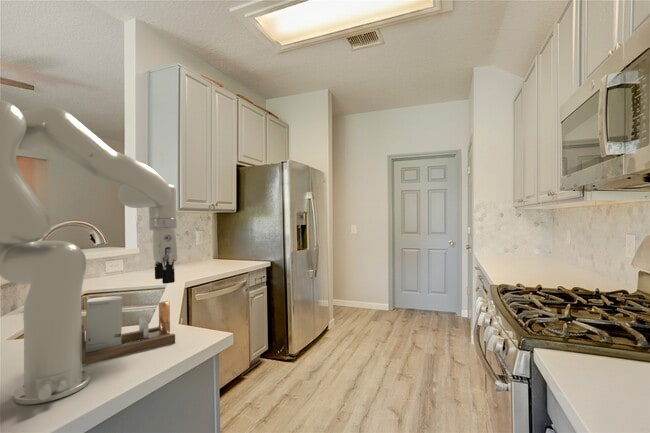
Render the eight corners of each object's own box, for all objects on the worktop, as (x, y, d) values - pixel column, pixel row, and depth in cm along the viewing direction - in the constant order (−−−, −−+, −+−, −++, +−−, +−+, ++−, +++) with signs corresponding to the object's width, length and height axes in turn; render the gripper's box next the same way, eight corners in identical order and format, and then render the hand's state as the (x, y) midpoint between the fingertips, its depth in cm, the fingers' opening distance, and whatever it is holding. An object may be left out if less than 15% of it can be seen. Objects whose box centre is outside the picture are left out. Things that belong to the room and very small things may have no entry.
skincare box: (84, 359, 85) (84, 302, 85) (87, 352, 90) (86, 298, 90) (122, 352, 89) (122, 297, 89) (122, 345, 94) (122, 294, 94)
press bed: (175, 343, 95) (174, 315, 95) (73, 367, 80) (72, 334, 81) (165, 332, 104) (164, 307, 105) (72, 352, 90) (71, 323, 90)
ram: (173, 340, 97) (172, 303, 97) (143, 347, 92) (143, 308, 92) (167, 334, 103) (166, 299, 103) (139, 340, 98) (138, 304, 98)
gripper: (184, 224, 95) (185, 282, 95) (169, 224, 109) (170, 275, 109) (156, 225, 90) (157, 286, 90) (143, 225, 104) (145, 278, 104)
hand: (164, 280), depth 99 cm, fingers open, 9 cm apart
